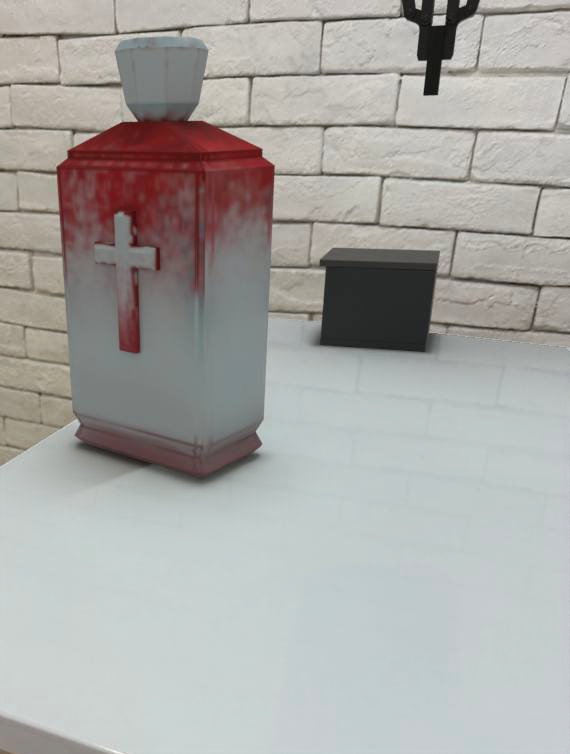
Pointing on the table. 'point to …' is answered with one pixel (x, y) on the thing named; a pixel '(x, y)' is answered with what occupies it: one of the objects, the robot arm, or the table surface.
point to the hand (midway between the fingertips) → (430, 95)
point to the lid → (381, 258)
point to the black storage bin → (377, 307)
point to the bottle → (167, 272)
